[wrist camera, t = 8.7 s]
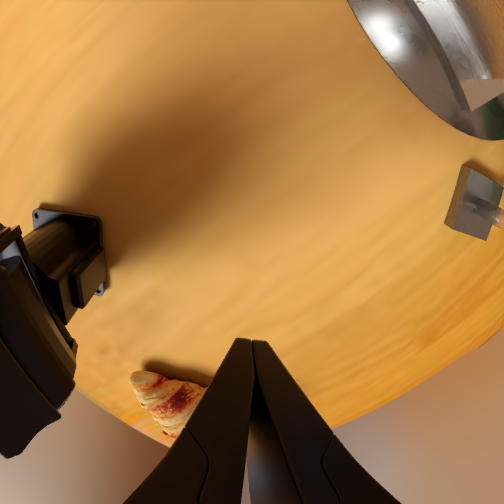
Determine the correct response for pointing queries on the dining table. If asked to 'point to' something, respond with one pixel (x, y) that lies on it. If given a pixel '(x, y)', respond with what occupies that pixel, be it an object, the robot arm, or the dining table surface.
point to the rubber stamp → (475, 205)
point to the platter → (423, 67)
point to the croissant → (166, 399)
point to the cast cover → (466, 45)
